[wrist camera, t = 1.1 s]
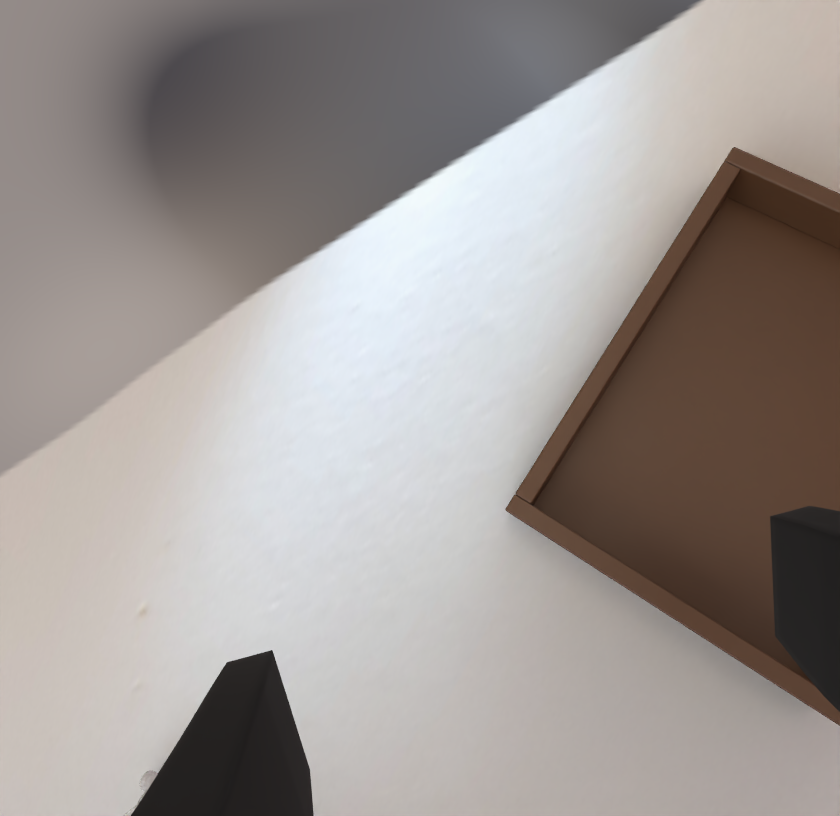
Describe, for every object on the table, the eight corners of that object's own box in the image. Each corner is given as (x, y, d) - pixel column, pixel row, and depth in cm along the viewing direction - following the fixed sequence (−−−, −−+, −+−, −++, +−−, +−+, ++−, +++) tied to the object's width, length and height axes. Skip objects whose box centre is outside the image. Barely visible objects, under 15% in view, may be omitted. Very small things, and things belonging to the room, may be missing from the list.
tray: (814, 709, 21) (848, 731, 19) (509, 512, 24) (504, 509, 22) (1036, 331, 22) (1096, 306, 20) (716, 183, 25) (733, 145, 23)
